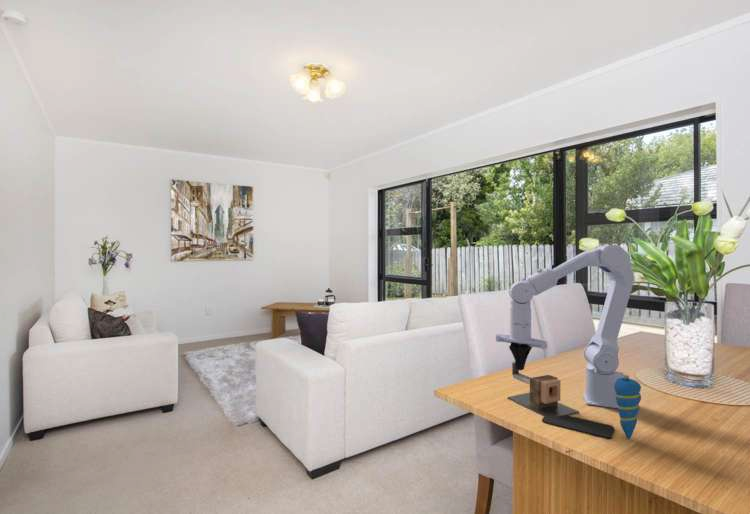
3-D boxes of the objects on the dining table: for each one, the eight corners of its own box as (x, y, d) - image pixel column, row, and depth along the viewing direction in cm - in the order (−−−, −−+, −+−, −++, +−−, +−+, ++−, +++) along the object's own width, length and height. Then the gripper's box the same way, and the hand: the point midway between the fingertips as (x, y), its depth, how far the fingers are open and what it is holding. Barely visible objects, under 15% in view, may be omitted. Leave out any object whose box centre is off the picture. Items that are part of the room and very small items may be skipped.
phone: (548, 410, 102) (614, 425, 93) (548, 413, 102) (614, 429, 93) (540, 420, 97) (610, 437, 87) (540, 424, 97) (610, 441, 87)
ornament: (645, 445, 85) (646, 377, 85) (619, 443, 86) (619, 375, 86) (634, 434, 90) (635, 369, 90) (610, 432, 91) (610, 368, 91)
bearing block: (557, 404, 106) (557, 377, 106) (538, 409, 103) (538, 381, 103) (548, 400, 109) (548, 374, 109) (529, 405, 106) (529, 378, 106)
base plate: (579, 412, 102) (579, 411, 102) (551, 419, 98) (551, 418, 98) (533, 393, 116) (533, 391, 116) (507, 398, 112) (507, 397, 112)
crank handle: (550, 391, 105) (550, 373, 105) (545, 392, 104) (545, 374, 104) (515, 377, 117) (515, 361, 117) (510, 378, 116) (510, 362, 116)
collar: (560, 400, 104) (560, 380, 104) (545, 403, 102) (545, 383, 102) (555, 398, 106) (555, 378, 106) (540, 401, 104) (540, 381, 104)
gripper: (551, 324, 112) (551, 371, 112) (503, 318, 121) (503, 361, 122) (542, 328, 106) (542, 377, 107) (492, 321, 116) (492, 366, 117)
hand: (520, 369), depth 114 cm, fingers closed
